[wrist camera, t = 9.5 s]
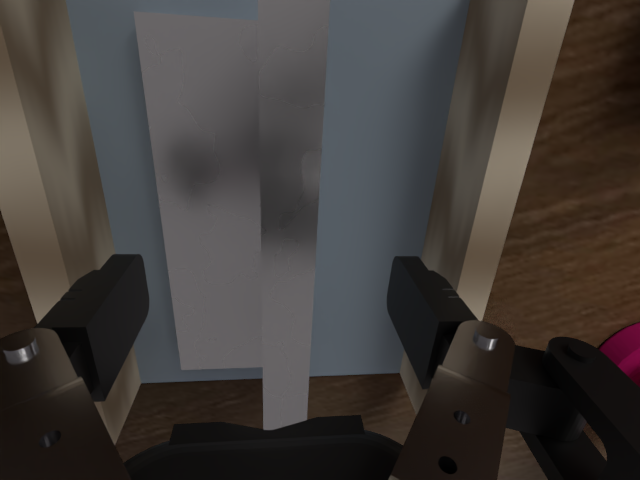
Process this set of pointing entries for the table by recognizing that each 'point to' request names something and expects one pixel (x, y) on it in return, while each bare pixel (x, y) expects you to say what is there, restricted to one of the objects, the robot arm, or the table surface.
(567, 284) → the table surface
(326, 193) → the board
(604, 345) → the pepper mill
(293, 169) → the bracket
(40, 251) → the walls
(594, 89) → the table surface
